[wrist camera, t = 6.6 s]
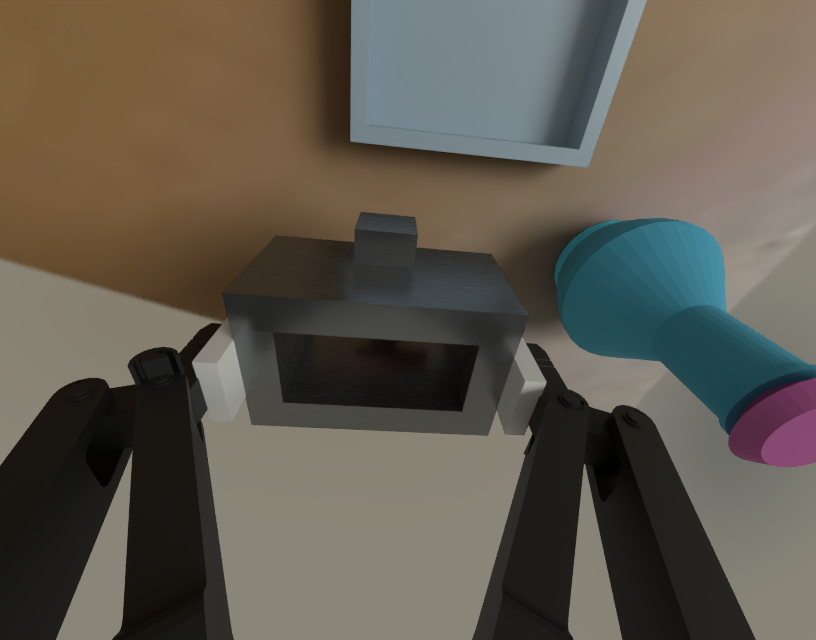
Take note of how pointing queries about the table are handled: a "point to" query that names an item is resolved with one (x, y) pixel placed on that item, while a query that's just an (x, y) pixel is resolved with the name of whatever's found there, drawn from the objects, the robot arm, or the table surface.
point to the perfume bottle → (687, 331)
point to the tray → (488, 74)
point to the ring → (374, 332)
